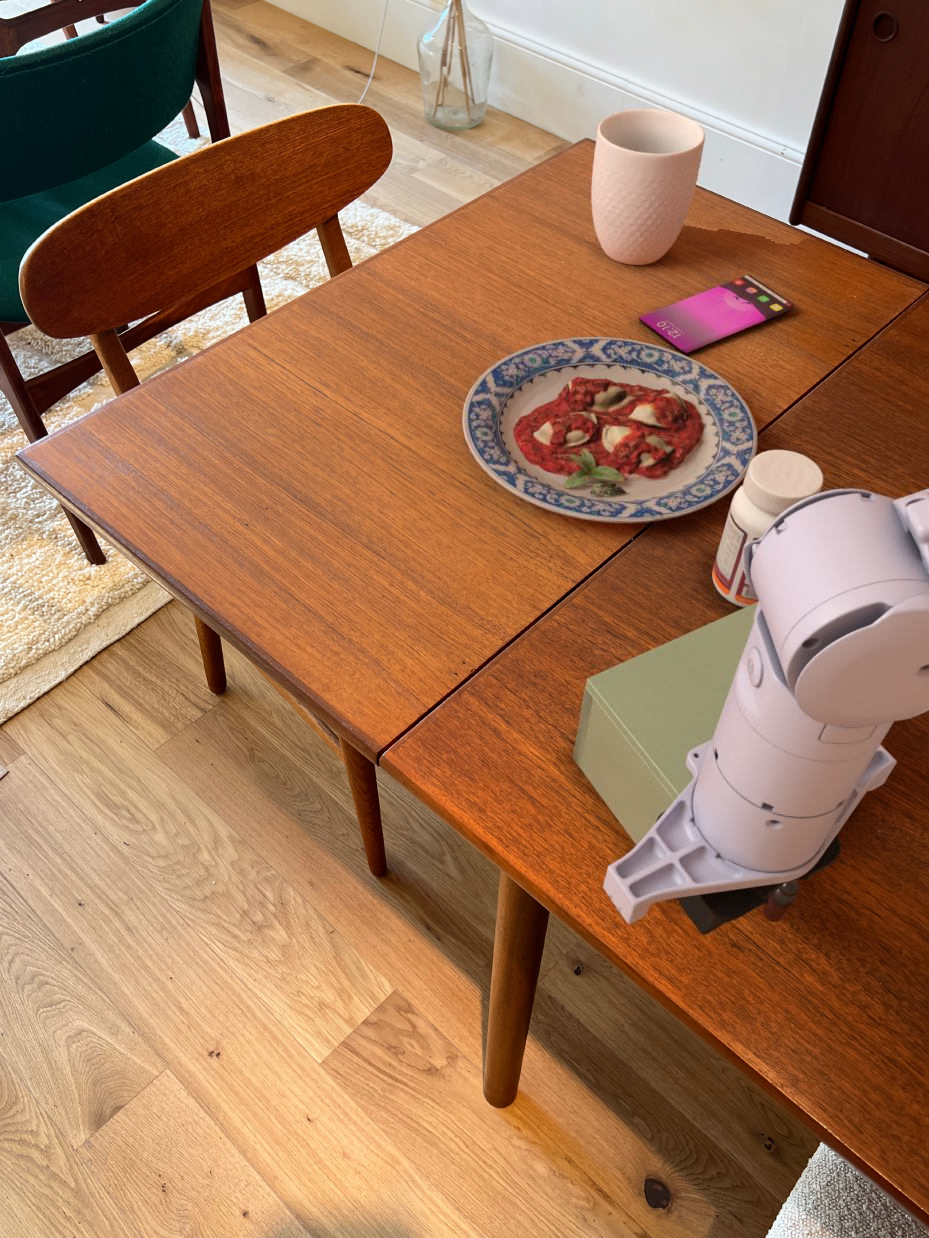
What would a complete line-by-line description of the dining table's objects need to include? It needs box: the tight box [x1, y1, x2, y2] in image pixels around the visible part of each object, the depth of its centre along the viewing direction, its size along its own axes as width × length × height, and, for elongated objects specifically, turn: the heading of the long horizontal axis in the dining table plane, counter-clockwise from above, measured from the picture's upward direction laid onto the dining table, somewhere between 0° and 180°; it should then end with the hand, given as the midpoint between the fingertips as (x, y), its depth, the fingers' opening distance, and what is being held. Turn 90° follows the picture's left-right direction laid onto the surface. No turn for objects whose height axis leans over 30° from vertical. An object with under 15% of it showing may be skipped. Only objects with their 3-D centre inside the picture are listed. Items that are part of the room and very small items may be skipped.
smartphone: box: [638, 274, 795, 355], centre depth 102 cm, size 7×15×1 cm, turn 122°
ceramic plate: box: [461, 336, 758, 524], centre depth 88 cm, size 26×26×3 cm
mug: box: [590, 108, 706, 266], centre depth 107 cm, size 15×11×13 cm
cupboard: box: [572, 602, 758, 846], centre depth 63 cm, size 11×14×9 cm
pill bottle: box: [711, 449, 824, 609], centre depth 73 cm, size 6×6×11 cm
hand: (715, 904), depth 50 cm, fingers closed
